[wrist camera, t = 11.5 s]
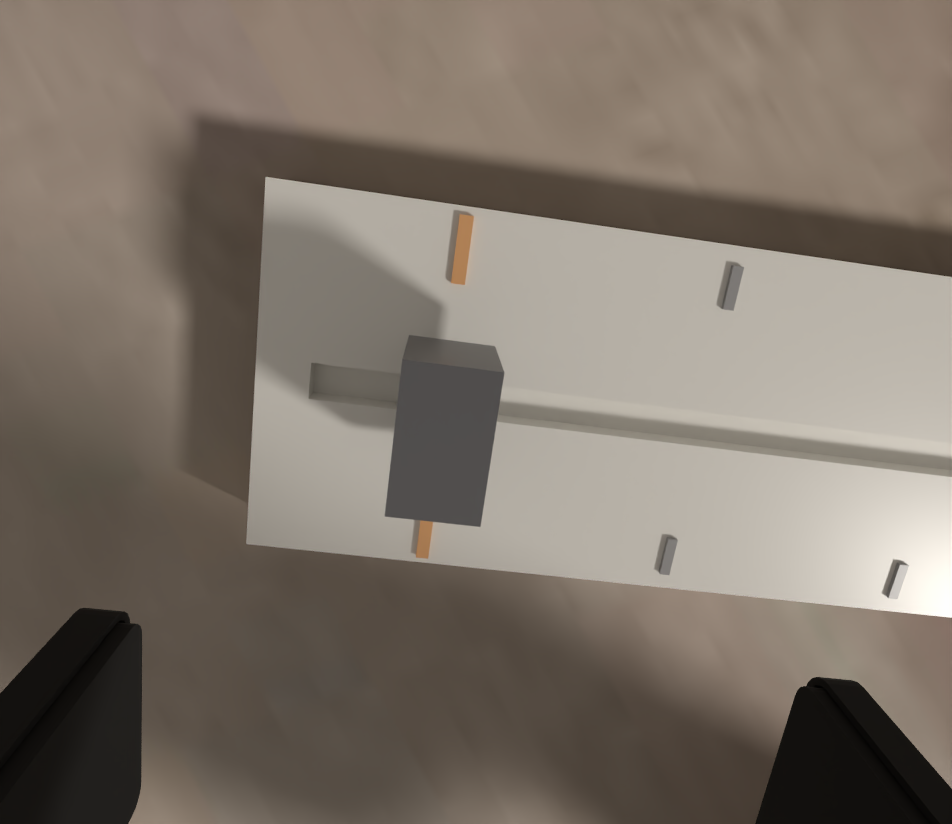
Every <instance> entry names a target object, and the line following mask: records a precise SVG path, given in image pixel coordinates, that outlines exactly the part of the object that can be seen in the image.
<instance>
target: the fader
mask: <svg viewBox="0 0 952 824" xmlns="http://www.w3.org/2000/svg"><path fill="white" fill-rule="evenodd" d="M503 379H504V370H503V367H502V364H501V361H500V359H499V356H498V353H497V350H496V348H495V346H490V345H483V344H475V343H467V342H460V341H452V340H444V339H437V338H429V337H421V336H413V335H409V337H408V341H407V344H406V348H405V351H404V355H403V358H402V366H401V375H400V384H399V393H398V401H397V410H396V419H395V428H394V437H393V446H392V455H391V464H390V473H389V481H388V490H387V499H386V508H385V517H393V518H402V519H412V520H421V521H430V522H439V523H448V524H457V525H467V526H476V527H481V520H482V514H483V507H484V501H485V495H486V488H487V482H488V475H489V469H490V462H491V456H492V449H493V443H494V437H495V430H496V424H497V417H498V411H499V404H500V398H501V391H502V385H503Z"/></svg>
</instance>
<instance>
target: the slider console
mask: <svg viewBox="0 0 952 824" xmlns="http://www.w3.org/2000/svg"><path fill="white" fill-rule="evenodd" d="M409 335H413V336H421V337H429V338H437V339H444V340H452V341H460V342H467V343H475V344H483V345H490V346H495V348H496V350H497V353H498V356H499V359H500V361H501V364H502V367H503V370H504V379H503V385H502V391H501V398H500V404H499V411H498V417H497V424H496V430H495V437H494V443H493V449H492V456H491V462H490V469H489V475H488V482H487V488H486V495H485V501H484V507H483V514H482V520H481V527H476V526H467V525H457V524H448V523H439V522H430V521H421V520H412V519H402V518H393V517H385V508H386V499H387V490H388V481H389V473H390V464H391V455H392V446H393V437H394V428H395V419H396V410H397V401H398V393H399V384H400V375H401V366H402V358H403V355H404V351H405V348H406V344H407V341H408V337H409ZM246 544H250V545H260V546H269V547H279V548H289V549H298V550H308V551H317V552H327V553H337V554H346V555H356V556H365V557H375V558H385V559H394V560H404V561H414V562H423V563H433V564H442V565H452V566H462V567H471V568H481V569H490V570H500V571H510V572H519V573H529V574H538V575H548V576H558V577H567V578H577V579H586V580H596V581H606V582H615V583H625V584H634V585H644V586H654V587H663V588H673V589H682V590H692V591H702V592H711V593H721V594H730V595H740V596H750V597H759V598H769V599H778V600H788V601H798V602H807V603H817V604H827V605H836V606H846V607H855V608H865V609H875V610H884V611H894V612H903V613H913V614H923V615H932V616H942V617H951V618H952V277H948V276H941V275H934V274H927V273H920V272H913V271H907V270H900V269H893V268H886V267H879V266H872V265H866V264H859V263H852V262H845V261H838V260H831V259H824V258H818V257H811V256H804V255H797V254H790V253H783V252H777V251H770V250H763V249H756V248H749V247H742V246H736V245H729V244H722V243H715V242H708V241H701V240H695V239H688V238H681V237H674V236H667V235H660V234H654V233H647V232H640V231H633V230H626V229H619V228H613V227H606V226H599V225H592V224H585V223H578V222H572V221H565V220H558V219H551V218H544V217H537V216H531V215H524V214H517V213H510V212H503V211H496V210H490V209H483V208H476V207H469V206H462V205H455V204H449V203H442V202H435V201H428V200H421V199H414V198H407V197H401V196H394V195H387V194H380V193H373V192H366V191H360V190H353V189H346V188H339V187H332V186H325V185H319V184H312V183H305V182H298V181H291V180H284V179H278V178H271V177H266V179H265V198H264V217H263V236H262V255H261V273H260V292H259V311H258V330H257V349H256V368H255V387H254V406H253V425H252V444H251V463H250V482H249V501H248V520H247V539H246Z"/></svg>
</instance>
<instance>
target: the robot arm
mask: <svg viewBox="0 0 952 824" xmlns="http://www.w3.org/2000/svg"><path fill="white" fill-rule="evenodd" d="M141 722H142V630H141V627H140V625H138V624H130V619H129V616H128V614H127V613H126V612H122V611H111V610H101V609H90V608H82V609H79V610H78V611H76V612H75V613H74V614H73V615H72V616H71V617H70V619H69V620H68V621H67V622H66V623H65V624H64V625H63V626H62V627H61V628H60V629H59V630H58V632H57V633H56V634H55V635H54V636H53V637H52V638H51V639H50V640H49V641H48V642H47V643H46V645H45V646H44V647H43V648H42V649H41V650H40V651H39V652H38V653H37V654H36V655H35V656H34V658H33V659H32V660H31V661H30V662H29V663H28V664H27V665H26V666H25V667H24V668H23V669H22V671H21V672H20V673H19V674H18V675H17V676H16V677H15V678H14V679H13V680H12V681H11V682H10V684H9V685H8V686H7V687H6V688H5V689H4V690H3V691H2V692H1V693H0V824H128V823H129V821H130V819H131V817H132V815H133V812H134V810H135V808H136V805H137V802H138V798H139V794H140V789H141ZM755 824H952V789H951V788H950V786H949V785H948V784H947V783H946V782H945V781H944V779H943V778H942V777H941V776H940V775H939V774H938V773H937V771H936V770H935V769H934V768H933V767H932V766H931V765H930V763H929V762H928V761H927V760H926V759H925V758H924V757H923V755H922V754H921V753H920V752H919V751H918V750H917V748H916V747H915V746H914V745H913V744H912V743H911V742H910V740H909V739H908V738H907V737H906V736H905V735H904V734H903V732H902V731H901V730H900V729H899V728H898V727H897V726H896V724H895V723H894V722H893V721H892V720H891V719H890V717H889V716H888V715H887V714H886V713H885V712H884V711H883V709H882V708H881V707H880V706H879V705H878V704H877V703H876V701H875V700H874V699H873V698H872V697H871V696H870V695H869V693H868V692H867V691H866V690H865V689H864V688H863V687H862V686H861V685H860V684H859V683H858V682H855V681H852V680H842V679H832V678H821V677H816V678H812V679H811V680H810V681H809V682H808V684H807V686H804V687H800V688H799V689H798V691H797V693H796V695H795V698H794V701H793V704H792V708H791V711H790V714H789V717H788V720H787V724H786V727H785V730H784V733H783V737H782V740H781V743H780V746H779V749H778V753H777V756H776V759H775V762H774V766H773V769H772V772H771V775H770V778H769V782H768V785H767V788H766V791H765V795H764V798H763V801H762V804H761V807H760V811H759V814H758V817H757V820H756V823H755Z"/></svg>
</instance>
